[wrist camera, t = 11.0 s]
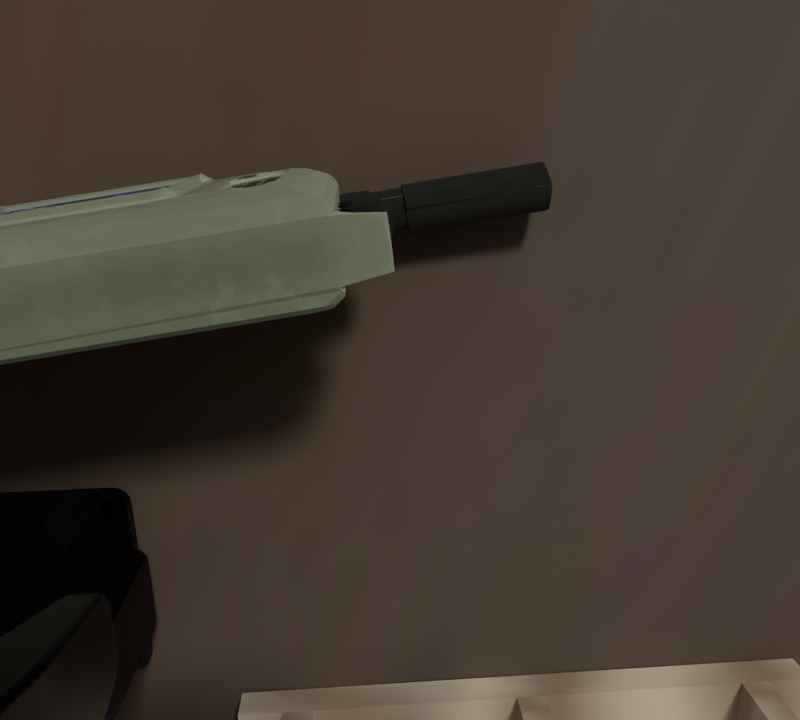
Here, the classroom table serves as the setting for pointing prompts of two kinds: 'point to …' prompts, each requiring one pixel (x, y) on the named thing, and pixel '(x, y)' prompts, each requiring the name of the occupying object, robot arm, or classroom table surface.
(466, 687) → the slot rack
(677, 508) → the classroom table surface
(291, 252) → the handheld radio
